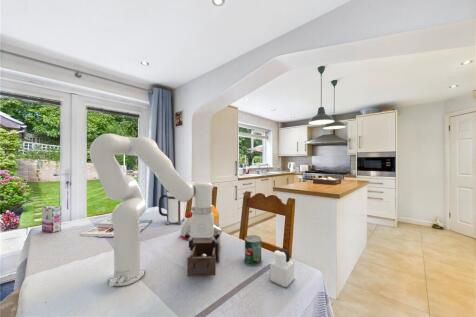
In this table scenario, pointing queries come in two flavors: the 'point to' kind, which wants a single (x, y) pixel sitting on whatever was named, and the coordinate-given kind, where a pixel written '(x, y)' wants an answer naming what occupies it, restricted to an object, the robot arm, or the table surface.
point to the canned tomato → (253, 250)
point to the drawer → (202, 261)
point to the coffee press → (172, 209)
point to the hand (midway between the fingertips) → (202, 249)
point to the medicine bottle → (282, 268)
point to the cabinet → (208, 243)
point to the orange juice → (215, 216)
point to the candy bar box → (51, 218)
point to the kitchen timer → (186, 226)
